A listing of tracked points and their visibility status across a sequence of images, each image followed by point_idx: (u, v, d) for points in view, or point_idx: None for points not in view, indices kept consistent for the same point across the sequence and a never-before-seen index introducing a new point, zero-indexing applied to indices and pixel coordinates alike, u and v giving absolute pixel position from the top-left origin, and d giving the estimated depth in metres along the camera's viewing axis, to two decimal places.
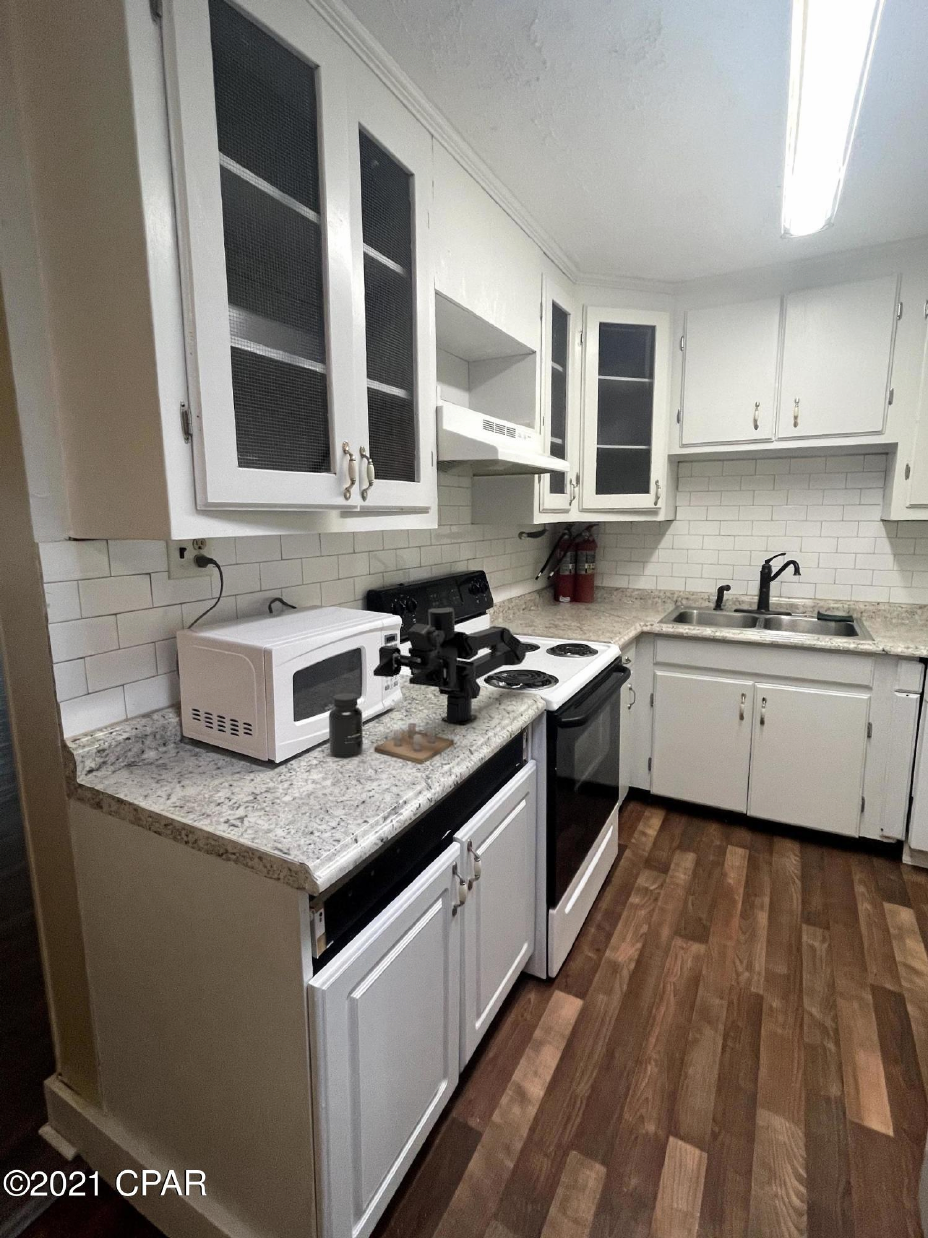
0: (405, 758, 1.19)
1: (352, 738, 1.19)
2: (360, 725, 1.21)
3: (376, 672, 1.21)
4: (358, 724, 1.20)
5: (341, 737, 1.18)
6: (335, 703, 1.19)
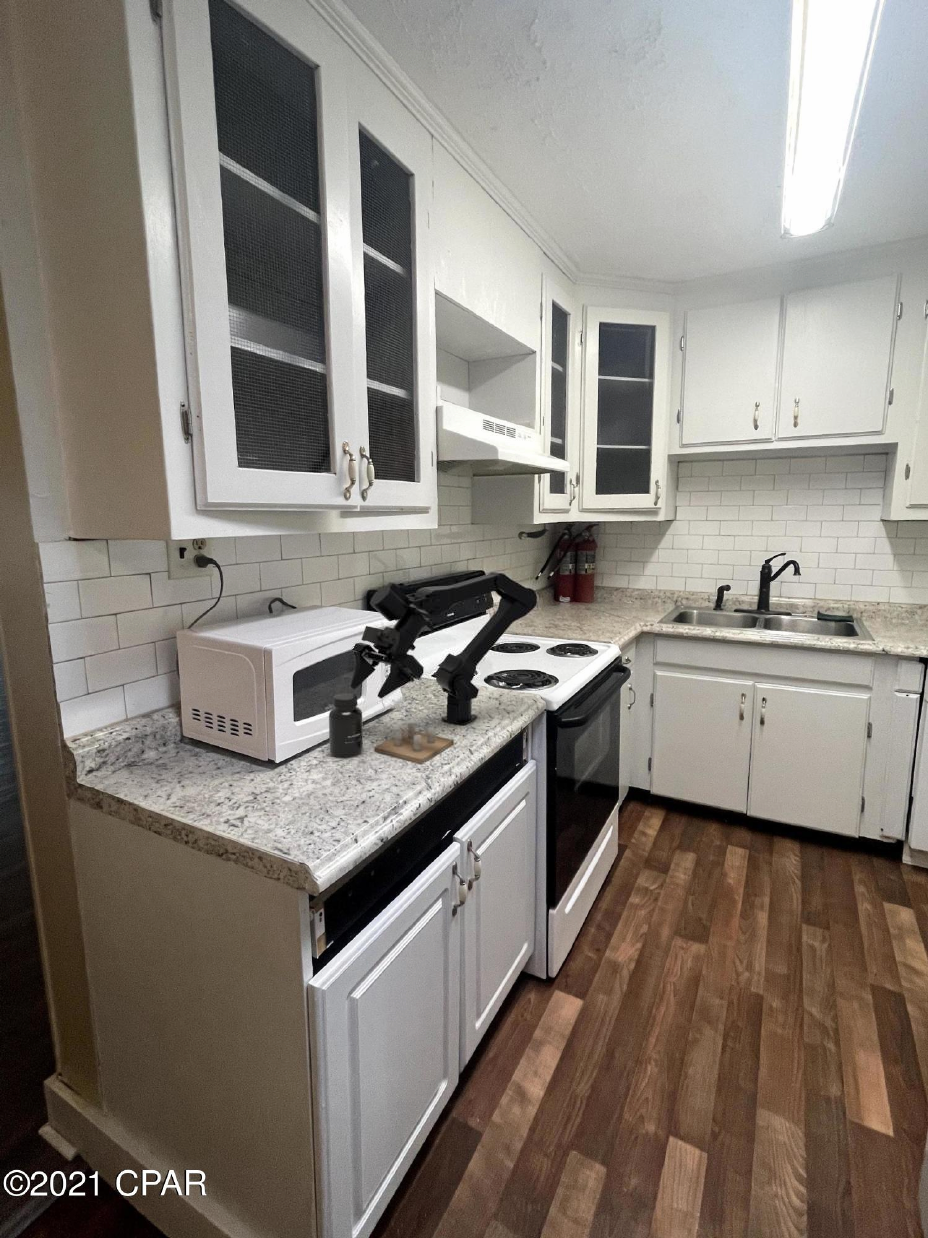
0: (405, 758, 1.19)
1: (352, 738, 1.19)
2: (360, 725, 1.21)
3: (353, 686, 1.27)
4: (358, 724, 1.20)
5: (341, 737, 1.18)
6: (335, 703, 1.19)
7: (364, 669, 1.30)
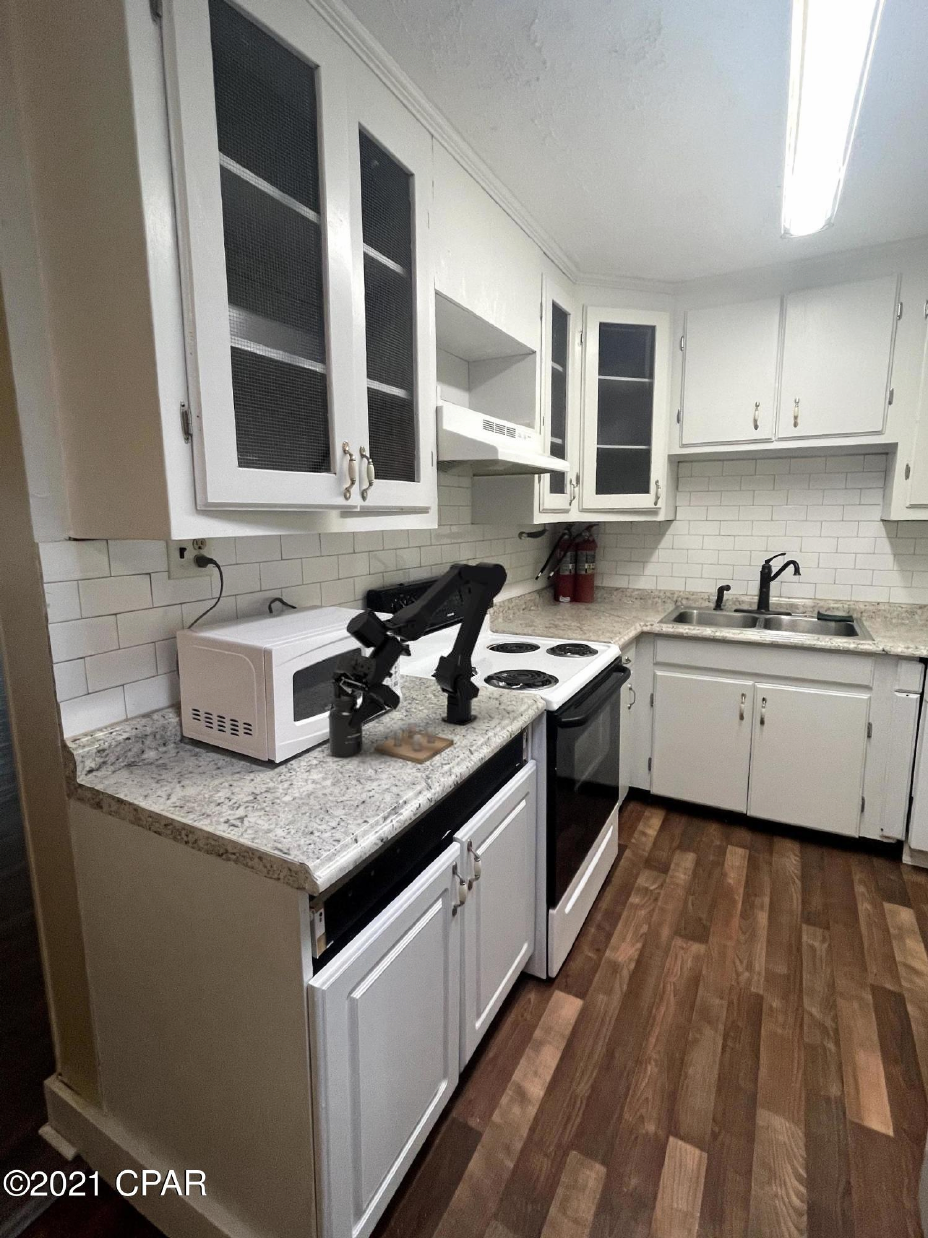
0: (405, 758, 1.19)
1: (352, 738, 1.19)
2: (360, 725, 1.21)
3: None
4: None
5: (341, 736, 1.18)
6: (335, 703, 1.19)
7: None
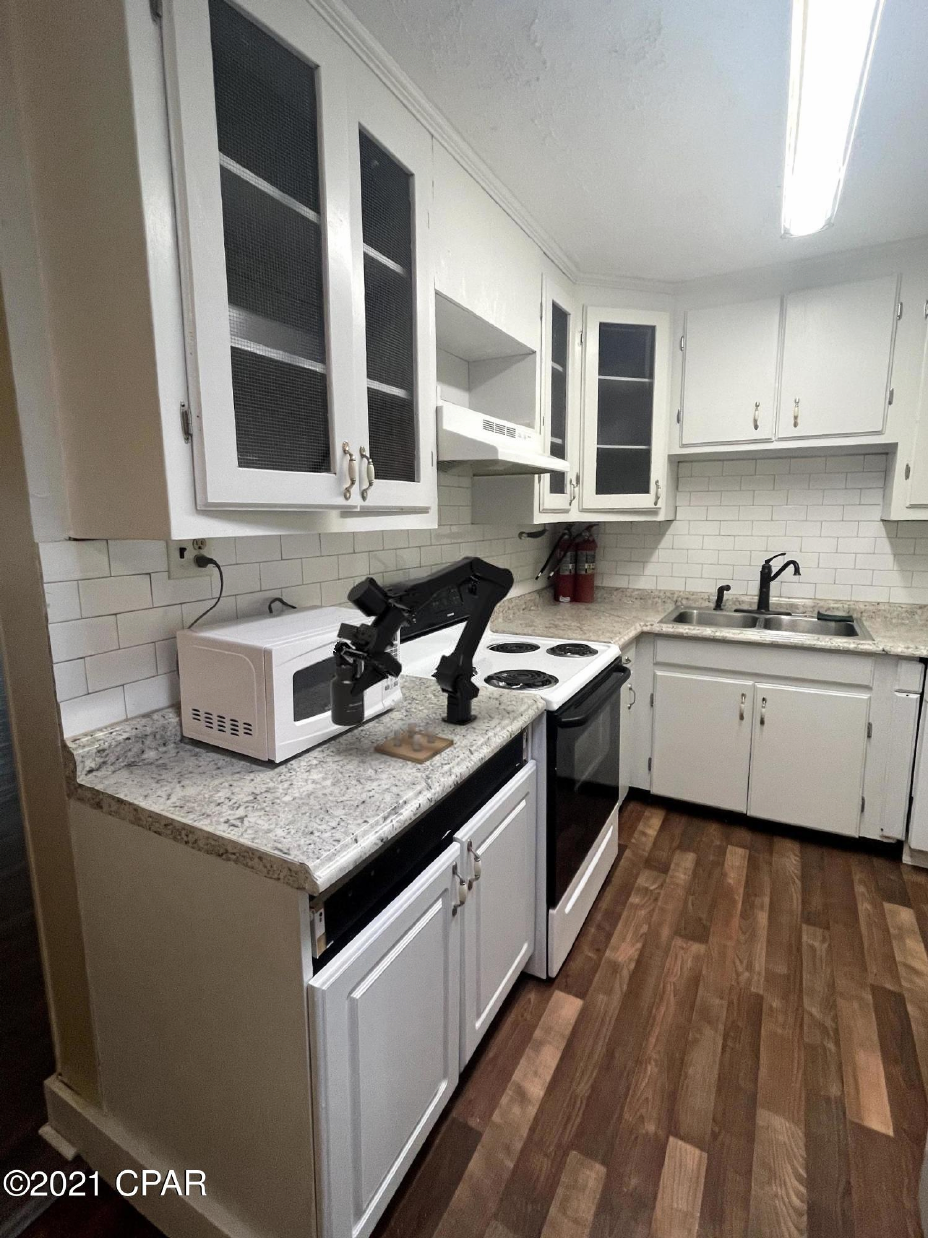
0: (405, 758, 1.19)
1: (353, 706, 1.18)
2: (362, 694, 1.20)
3: None
4: None
5: (343, 705, 1.17)
6: (336, 671, 1.18)
7: None
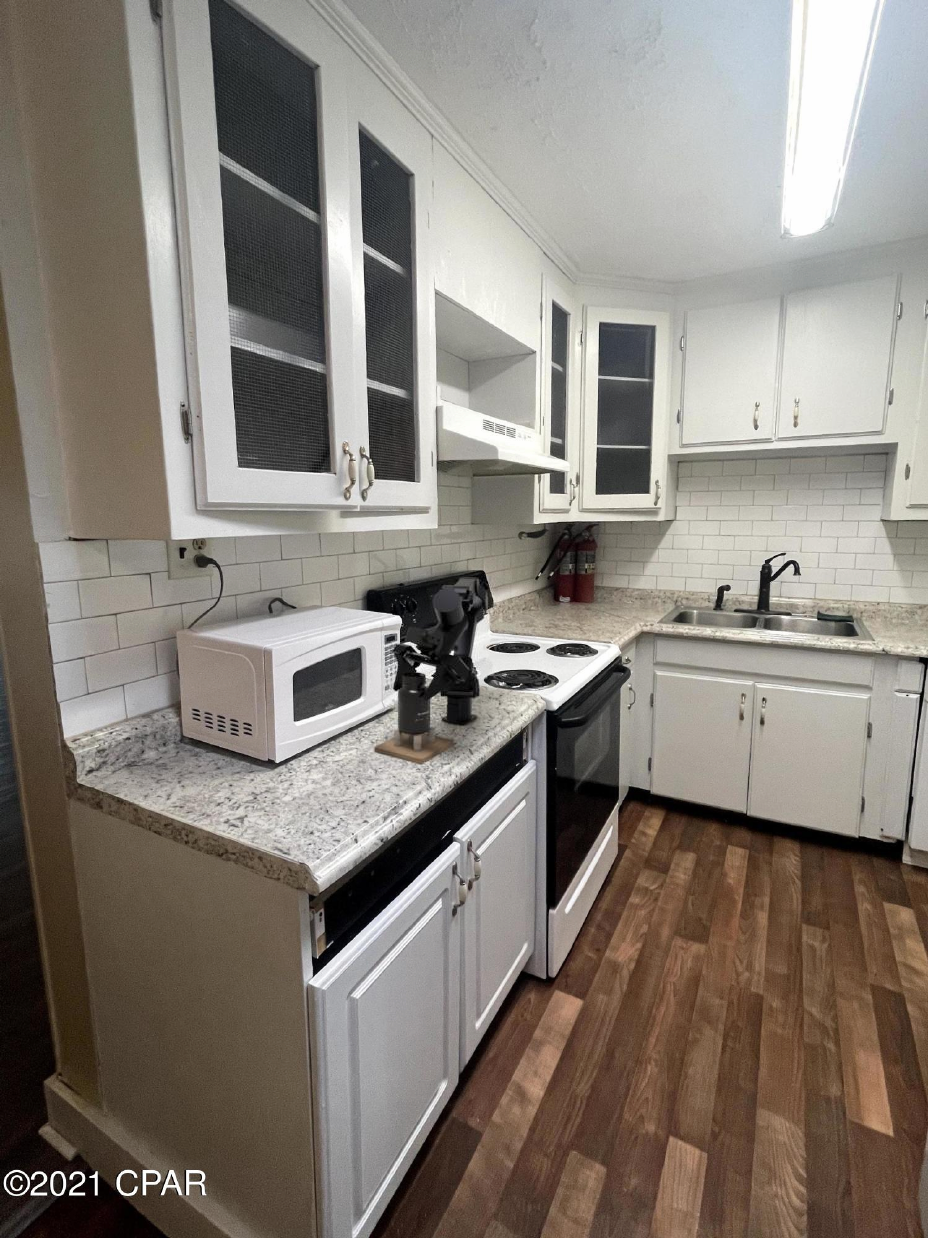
0: (405, 758, 1.19)
1: (421, 715, 1.21)
2: (429, 703, 1.22)
3: (395, 688, 1.25)
4: (427, 702, 1.21)
5: (411, 714, 1.20)
6: (405, 681, 1.21)
7: (406, 671, 1.27)
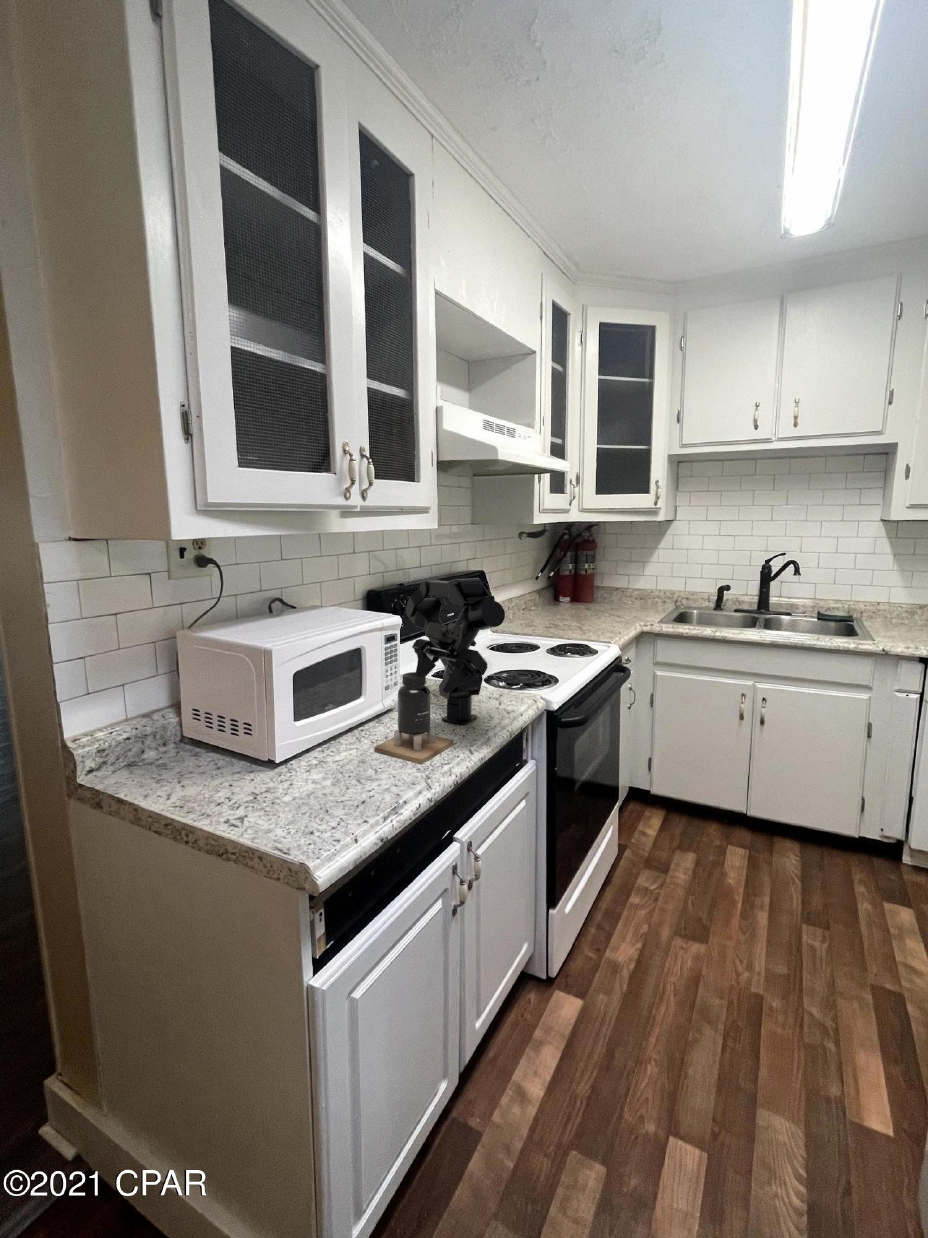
0: (405, 758, 1.19)
1: (421, 715, 1.21)
2: (429, 703, 1.22)
3: None
4: (427, 702, 1.21)
5: (411, 714, 1.20)
6: (405, 681, 1.21)
7: (426, 665, 1.31)
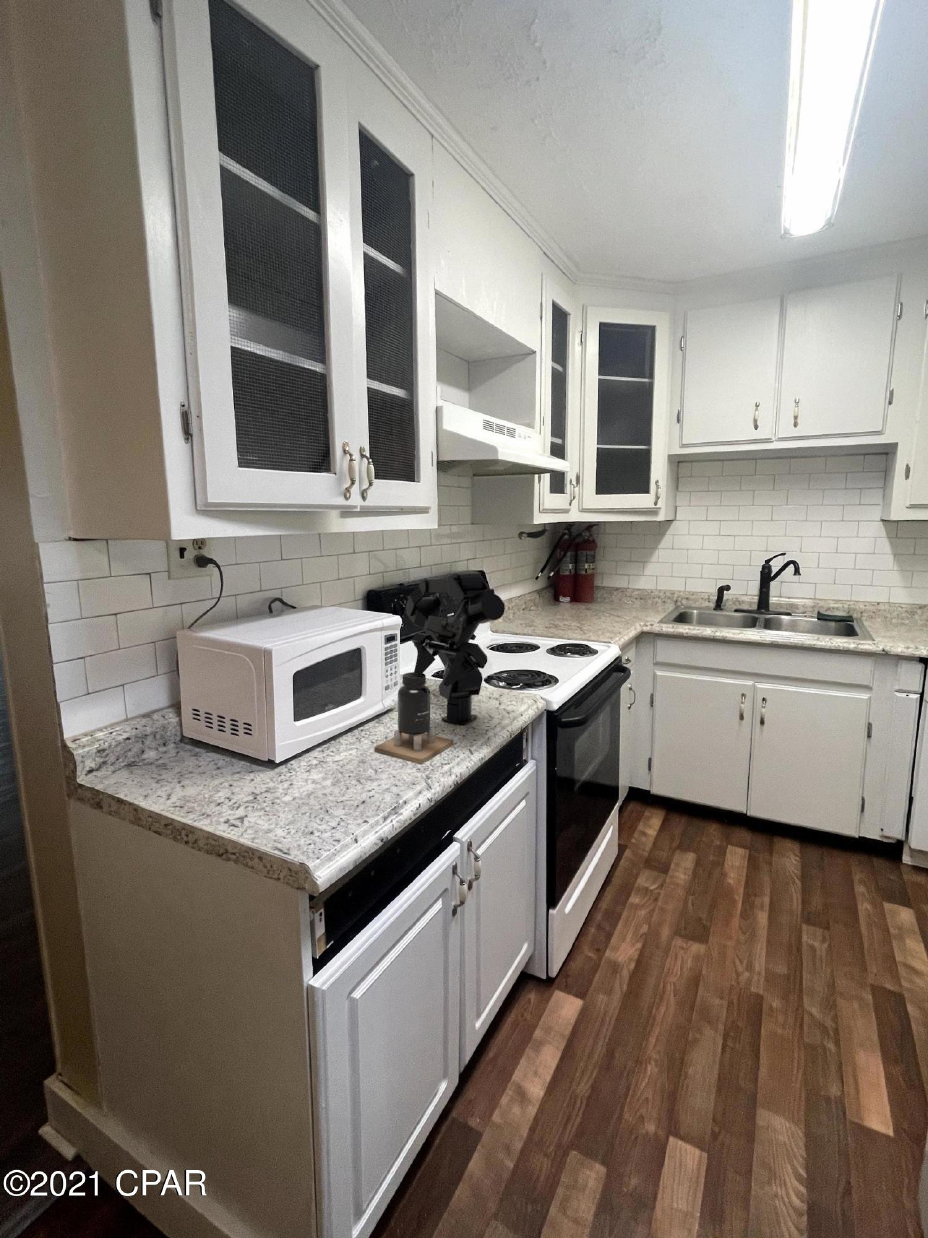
0: (405, 758, 1.19)
1: (421, 715, 1.21)
2: (429, 703, 1.22)
3: None
4: (427, 702, 1.21)
5: (411, 714, 1.20)
6: (405, 681, 1.21)
7: (425, 659, 1.31)
